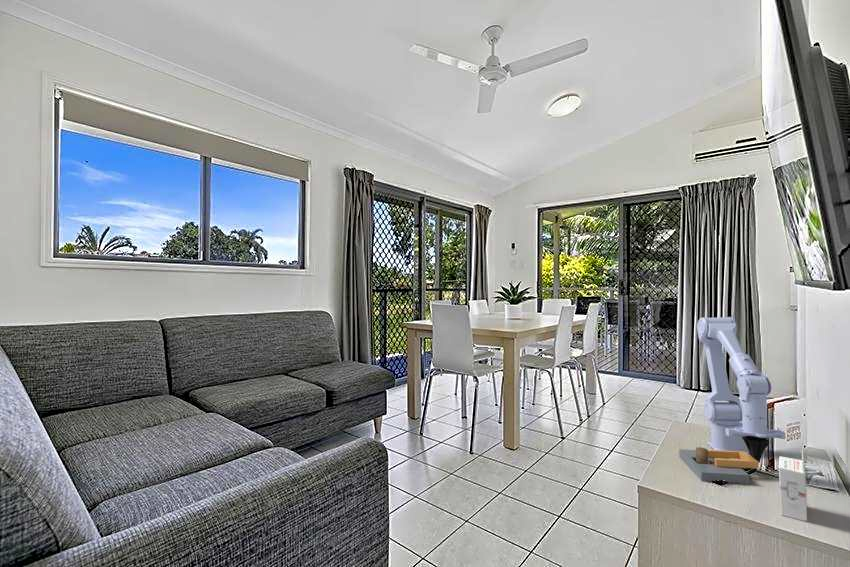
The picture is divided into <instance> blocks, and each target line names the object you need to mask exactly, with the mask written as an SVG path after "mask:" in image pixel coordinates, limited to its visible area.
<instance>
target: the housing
mask: <svg viewBox="0 0 850 567" xmlns="http://www.w3.org/2000/svg"><path fill="white" fill-rule="evenodd" d="M678 452H679V454H678V456H679V458H680V459H681V460H682V462H683V463H684V464H686V466H687V467H688V468H689V469H690V470H691V471H692V472H693V473H694V474H695V476H696V477H697V479H698V478H699V480H700V481H701V482H711V483H712V481H716V480H725V481H727V482H728V484H741V485H742V484H743V485H744V484H745V485H750V474H748V473H747V472H746V471H745V470H744V468H738V467H720V466H716V465H715V458H712V457H708V464H697V463H696V449H678ZM724 459H730V458H724Z"/></svg>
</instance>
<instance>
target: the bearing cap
mask: <svg viewBox="0 0 850 567" xmlns="http://www.w3.org/2000/svg"><path fill="white" fill-rule="evenodd" d="M707 450H708V457H712V458H715V465H716V466H720V467H738V468H741V469H757V470H758V469H760V466H759V464H760V463H759V462H758V461H757V460H756V459H754V458H753V457H752V456H750V453H749V454H748V453H746V452H745V451H727V450H714V449H707ZM724 458H729V459H724Z"/></svg>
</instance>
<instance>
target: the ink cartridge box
mask: <svg viewBox="0 0 850 567" xmlns="http://www.w3.org/2000/svg"><path fill="white" fill-rule="evenodd" d="M801 458H802V459H797V458H791V457H786V456H779V458H778V475H779V476H778V478H779V493H780V494H779V496H780V515H781V516H784V517H788V518H792V519H795V520H799V521H803V522H808V508H807V507H808V504H807V497H808V496H807V475H806V474H807V473H806V465H805V455H804V450H803V449H801Z"/></svg>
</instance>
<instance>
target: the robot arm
mask: <svg viewBox="0 0 850 567" xmlns="http://www.w3.org/2000/svg"><path fill="white" fill-rule="evenodd" d="M736 322H737V321H735V319H734V318H733V317H731V316H727V317H700V318H699V319H698V320H697V323H696V324H697V325H696V330H697V336H698V340H699V342H700V343H703V345H704V352H705V358H706V362H707V368H708V375H709V380H710V386H711V392H710V393H709V394H708V395H706V396H705V397H704V399H703V400H704V401H703V402H704V405H703V410H704V414H705V417H706V418H707V420H709V421H710V429H711V431H710V435H711V437H710V438H711V441H706V444H707V445H708V446H709V447H710V448H712V450H727V451H745V452H746V453H748V454H749V455H750V456H752V457H753V458H754V459H756V460H757V461H758V462H759V464H761V460H762V457H763V454H764V452H765V450H766V449H767V447H768V446H769V445H770V440H769V439H771V438H772V439H781V440H786V432H785V431H783V430H779V429H771V428H768V412H767V410H768V408H767V401H768V400H767V395H770V394H771V391H772V384H771V381H770V378H769V377H768V375H766V374H764V373H763V371H759V369H758V368H757V366H756V365H755V363H754V361H753V359H752V357H751V356H750V355H749V354H747V353H744V351H743V349H742V347H741V345H740V341H739V340H738V337H737V330H738V328H737V323H736ZM723 348H724V349H725V350H726V352H727V353H728V356H730V358H729V359H728V362H729V365H730V367H731V368H732V370H733V372H734V374H735V376H736V378H737V381H736V386H737V390H738V392H739V397H738V396H737V395H734V394H733V393H731V390H730V383H729V379H728V373H727V367H726V363H725V357H724V351H723ZM740 399H741V400H740ZM716 401H717V402H716ZM768 438H769V439H768Z"/></svg>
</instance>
